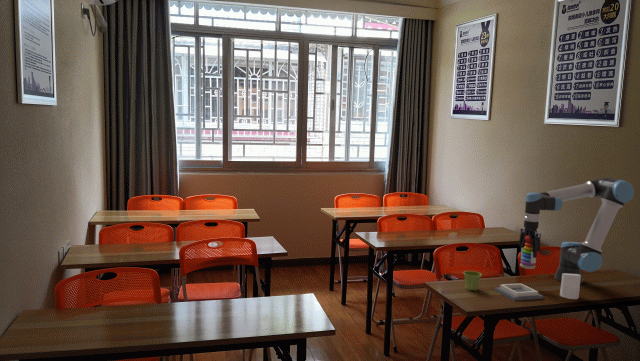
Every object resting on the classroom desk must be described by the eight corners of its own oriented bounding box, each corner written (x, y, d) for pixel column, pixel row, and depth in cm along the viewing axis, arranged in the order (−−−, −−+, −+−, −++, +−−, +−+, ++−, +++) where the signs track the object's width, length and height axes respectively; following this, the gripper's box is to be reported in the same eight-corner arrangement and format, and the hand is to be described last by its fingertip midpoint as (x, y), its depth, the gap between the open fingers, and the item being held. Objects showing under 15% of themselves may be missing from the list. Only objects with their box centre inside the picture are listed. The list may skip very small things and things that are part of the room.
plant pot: (474, 293, 271) (475, 277, 270) (458, 288, 278) (460, 272, 277) (483, 289, 278) (485, 274, 276) (468, 285, 285) (469, 269, 283)
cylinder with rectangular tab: (573, 293, 279) (576, 272, 277) (581, 299, 270) (584, 277, 268) (556, 292, 279) (559, 271, 278) (564, 298, 270) (566, 276, 269)
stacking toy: (537, 269, 282) (540, 236, 280) (522, 269, 282) (525, 235, 280) (531, 265, 290) (534, 233, 287) (517, 265, 290) (520, 232, 288)
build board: (522, 288, 283) (522, 282, 283) (542, 298, 268) (543, 292, 268) (494, 290, 278) (495, 283, 277) (513, 300, 263) (514, 294, 262)
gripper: (513, 217, 291) (510, 256, 294) (538, 224, 272) (535, 266, 275) (524, 216, 293) (521, 255, 296) (550, 224, 274) (546, 265, 277)
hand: (528, 260), depth 285 cm, fingers closed on stacking toy, 7 cm apart
